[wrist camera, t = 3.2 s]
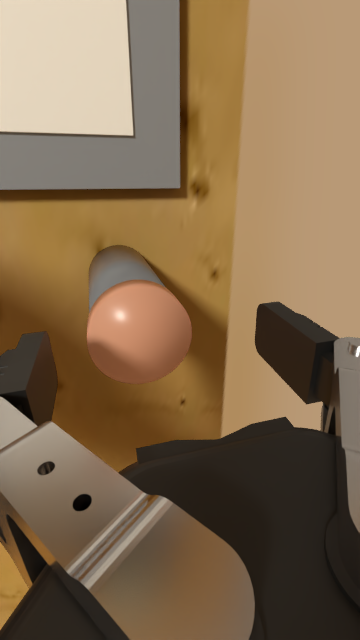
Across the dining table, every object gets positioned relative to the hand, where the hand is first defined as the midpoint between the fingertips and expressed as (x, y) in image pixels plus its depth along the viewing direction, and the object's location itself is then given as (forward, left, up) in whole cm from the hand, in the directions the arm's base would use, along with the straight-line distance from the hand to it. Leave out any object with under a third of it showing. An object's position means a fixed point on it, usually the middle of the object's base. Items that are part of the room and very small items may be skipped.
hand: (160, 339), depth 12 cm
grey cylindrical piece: (-1, 0, -13) cm, 13 cm away
